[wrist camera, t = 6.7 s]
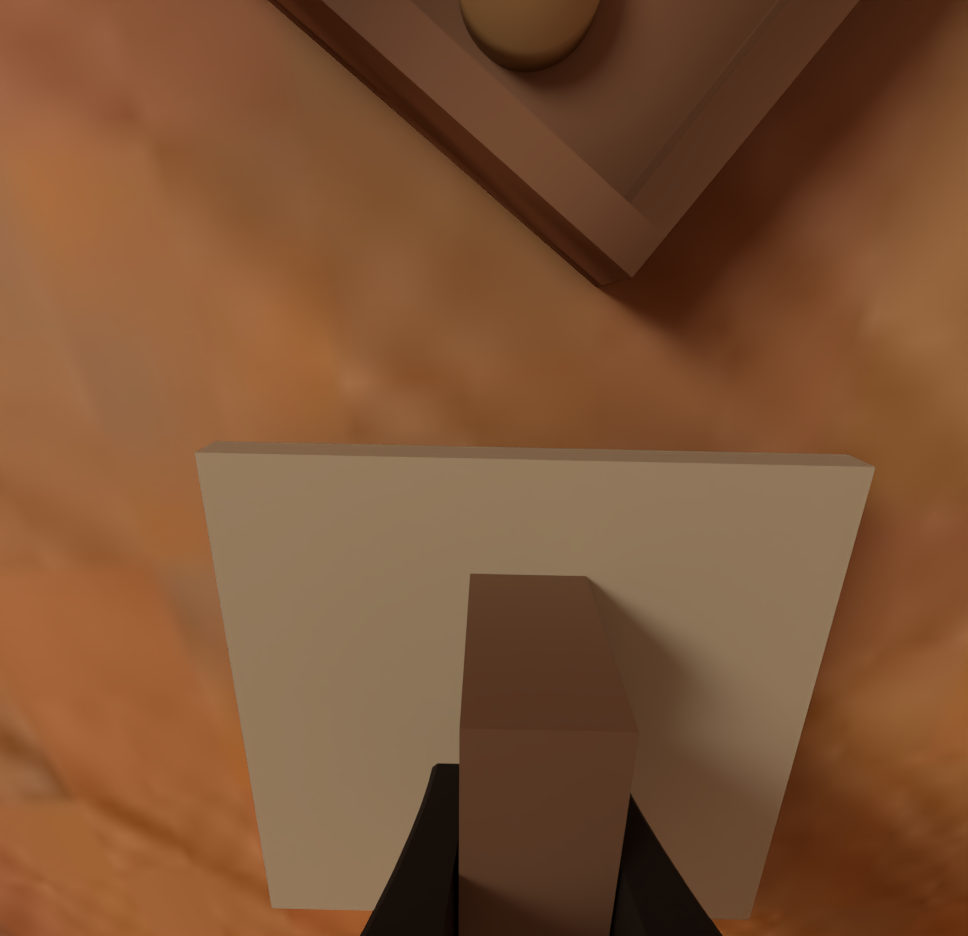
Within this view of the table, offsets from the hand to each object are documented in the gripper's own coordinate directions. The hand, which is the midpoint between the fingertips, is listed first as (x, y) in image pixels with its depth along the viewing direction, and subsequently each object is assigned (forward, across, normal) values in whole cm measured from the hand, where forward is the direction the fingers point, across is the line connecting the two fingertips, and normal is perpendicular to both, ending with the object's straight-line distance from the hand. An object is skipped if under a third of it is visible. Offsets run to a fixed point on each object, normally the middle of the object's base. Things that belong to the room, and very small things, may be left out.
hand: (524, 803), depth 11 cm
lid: (+2, 0, 0) cm, 2 cm away
